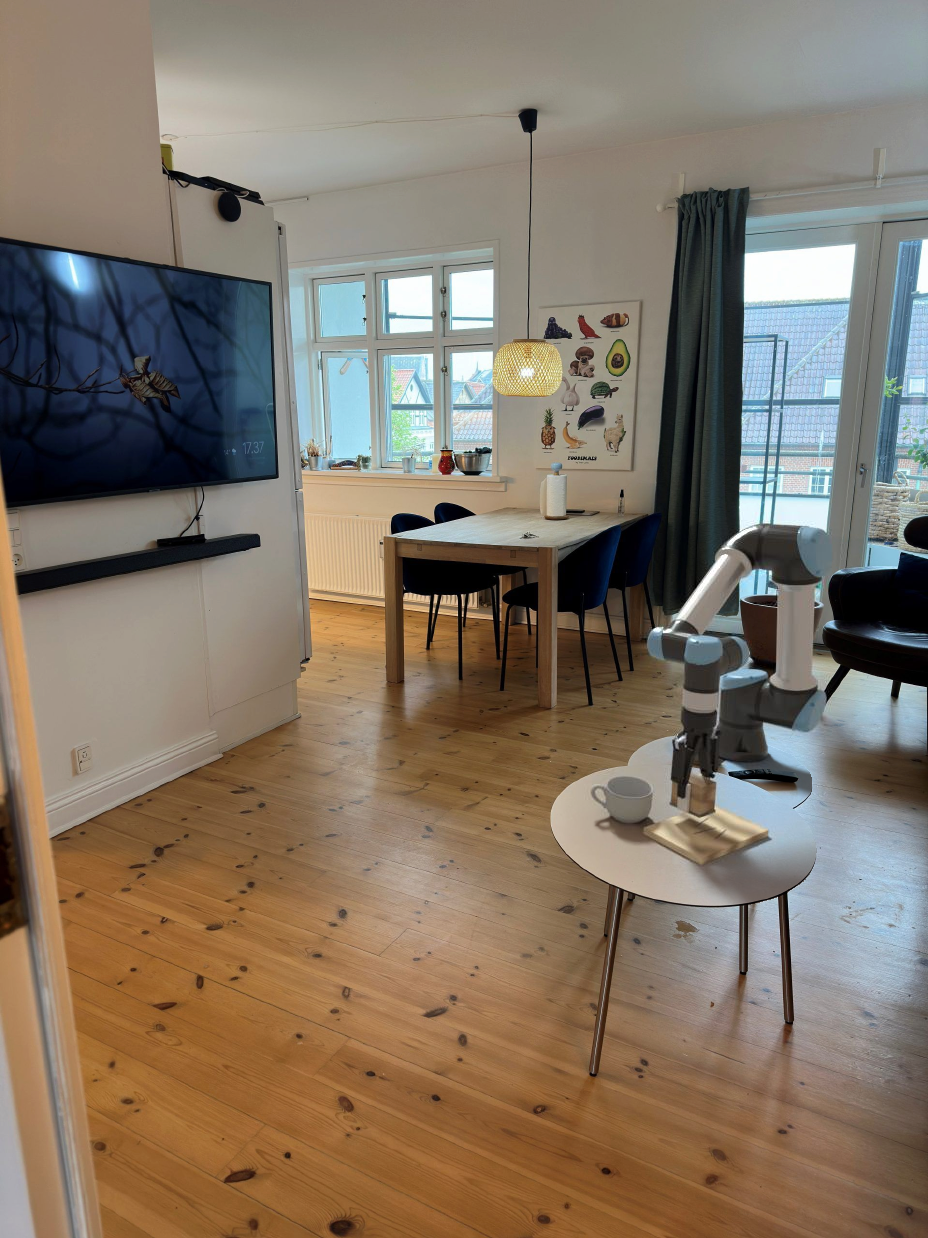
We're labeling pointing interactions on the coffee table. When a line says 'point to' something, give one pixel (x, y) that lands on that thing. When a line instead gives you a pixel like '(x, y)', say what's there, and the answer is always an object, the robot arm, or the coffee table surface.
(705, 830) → the pine board
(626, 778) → the teacup
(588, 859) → the coffee table surface
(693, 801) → the brown wooden block
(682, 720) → the robot arm
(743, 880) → the coffee table surface
